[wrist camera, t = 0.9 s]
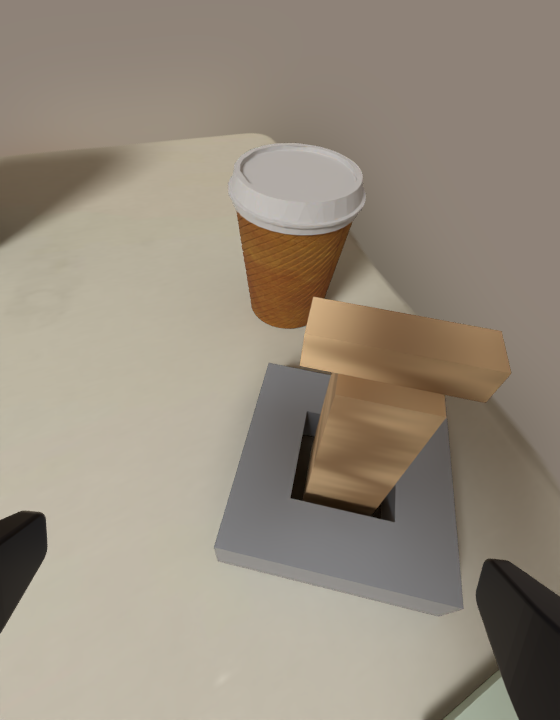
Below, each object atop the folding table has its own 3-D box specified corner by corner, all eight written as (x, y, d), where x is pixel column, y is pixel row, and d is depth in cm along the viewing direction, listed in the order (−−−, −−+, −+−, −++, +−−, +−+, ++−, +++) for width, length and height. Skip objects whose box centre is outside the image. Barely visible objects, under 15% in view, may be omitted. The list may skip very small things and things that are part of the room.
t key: (393, 465, 25) (497, 312, 15) (392, 526, 23) (517, 397, 12) (289, 442, 26) (317, 280, 15) (277, 500, 23) (299, 354, 13)
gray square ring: (429, 421, 27) (445, 398, 25) (438, 616, 20) (463, 608, 18) (267, 387, 28) (268, 362, 26) (218, 561, 21) (213, 547, 19)
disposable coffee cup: (220, 282, 36) (209, 147, 27) (311, 264, 39) (330, 135, 29) (254, 355, 30) (255, 217, 21) (357, 327, 33) (398, 194, 24)
